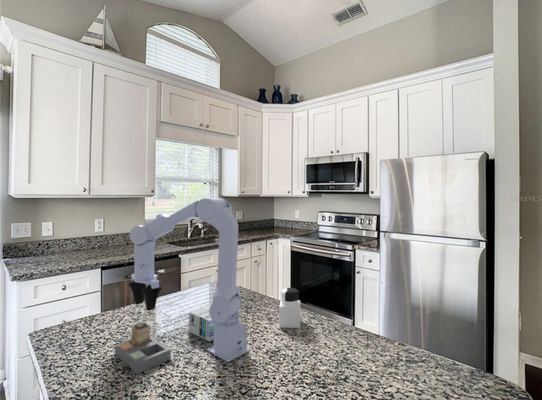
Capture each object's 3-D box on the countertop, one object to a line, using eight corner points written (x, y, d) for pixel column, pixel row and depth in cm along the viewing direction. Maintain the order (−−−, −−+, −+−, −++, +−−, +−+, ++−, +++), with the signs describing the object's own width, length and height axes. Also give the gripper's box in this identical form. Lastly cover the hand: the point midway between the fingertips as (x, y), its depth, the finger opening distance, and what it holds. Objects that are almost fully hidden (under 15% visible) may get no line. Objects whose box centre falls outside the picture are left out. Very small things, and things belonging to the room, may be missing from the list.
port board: (170, 358, 80) (170, 348, 80) (137, 373, 73) (137, 362, 73) (146, 342, 89) (146, 332, 89) (115, 354, 83) (115, 343, 83)
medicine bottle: (300, 319, 105) (300, 286, 105) (300, 328, 98) (300, 292, 98) (280, 319, 106) (280, 285, 106) (279, 327, 99) (278, 292, 99)
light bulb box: (188, 332, 96) (208, 343, 89) (188, 311, 96) (209, 320, 89) (213, 321, 104) (234, 330, 97) (214, 302, 104) (235, 310, 97)
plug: (149, 347, 85) (149, 323, 85) (139, 353, 82) (139, 327, 82) (142, 345, 87) (142, 320, 87) (131, 350, 84) (131, 325, 84)
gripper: (168, 264, 90) (168, 308, 90) (146, 258, 100) (146, 297, 100) (145, 268, 85) (146, 315, 85) (124, 261, 94) (125, 303, 95)
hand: (144, 306), depth 92 cm, fingers open, 7 cm apart
